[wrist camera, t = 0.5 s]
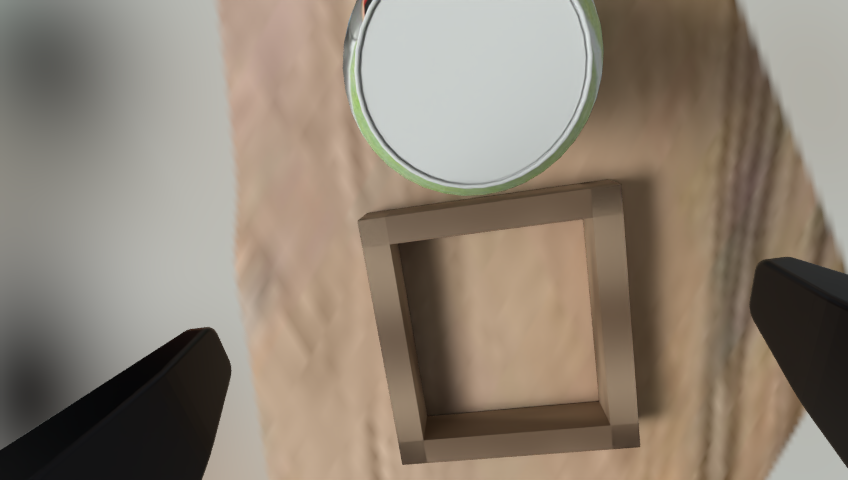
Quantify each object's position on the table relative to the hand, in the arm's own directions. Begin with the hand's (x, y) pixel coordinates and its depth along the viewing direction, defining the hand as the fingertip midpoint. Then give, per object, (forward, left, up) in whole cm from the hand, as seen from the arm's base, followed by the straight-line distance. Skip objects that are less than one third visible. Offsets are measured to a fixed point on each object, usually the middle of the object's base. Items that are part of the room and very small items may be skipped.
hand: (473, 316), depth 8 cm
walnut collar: (-6, -1, -14) cm, 16 cm away
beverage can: (+5, -1, -15) cm, 16 cm away
